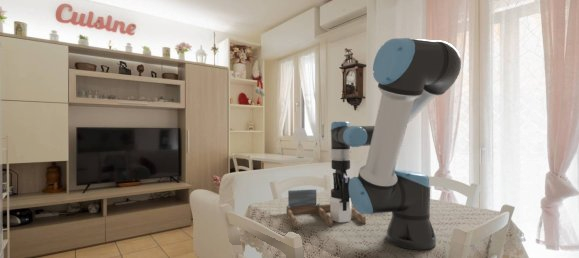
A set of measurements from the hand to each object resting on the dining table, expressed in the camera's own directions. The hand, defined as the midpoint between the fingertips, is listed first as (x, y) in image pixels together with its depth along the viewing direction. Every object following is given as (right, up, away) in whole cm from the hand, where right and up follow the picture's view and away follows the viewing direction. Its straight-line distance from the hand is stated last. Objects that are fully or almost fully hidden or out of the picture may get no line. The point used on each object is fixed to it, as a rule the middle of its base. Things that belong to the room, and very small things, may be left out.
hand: (341, 216), depth 119 cm
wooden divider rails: (-7, -1, +1) cm, 7 cm away
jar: (0, -2, 0) cm, 2 cm away
